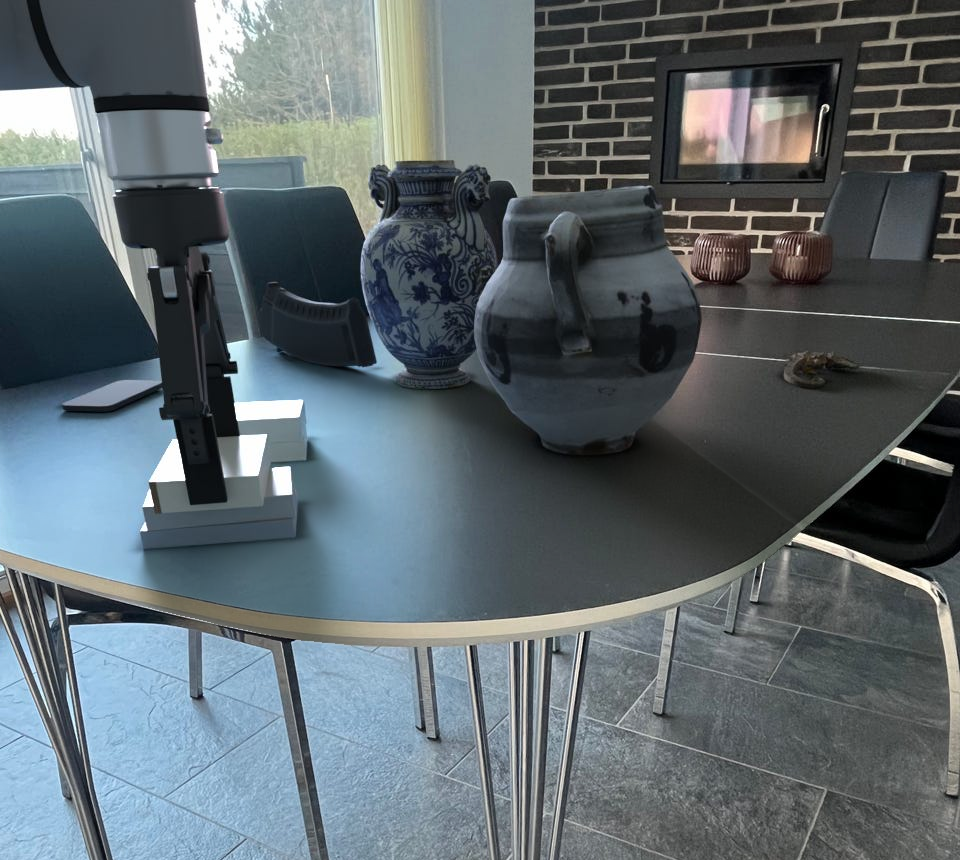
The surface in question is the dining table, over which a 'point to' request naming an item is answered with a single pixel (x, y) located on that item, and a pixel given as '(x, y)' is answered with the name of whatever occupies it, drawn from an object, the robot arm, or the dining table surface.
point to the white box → (227, 519)
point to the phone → (112, 395)
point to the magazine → (316, 329)
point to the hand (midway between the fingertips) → (218, 475)
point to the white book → (241, 472)
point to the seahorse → (813, 367)
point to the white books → (276, 427)
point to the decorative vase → (427, 267)
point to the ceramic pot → (587, 317)
